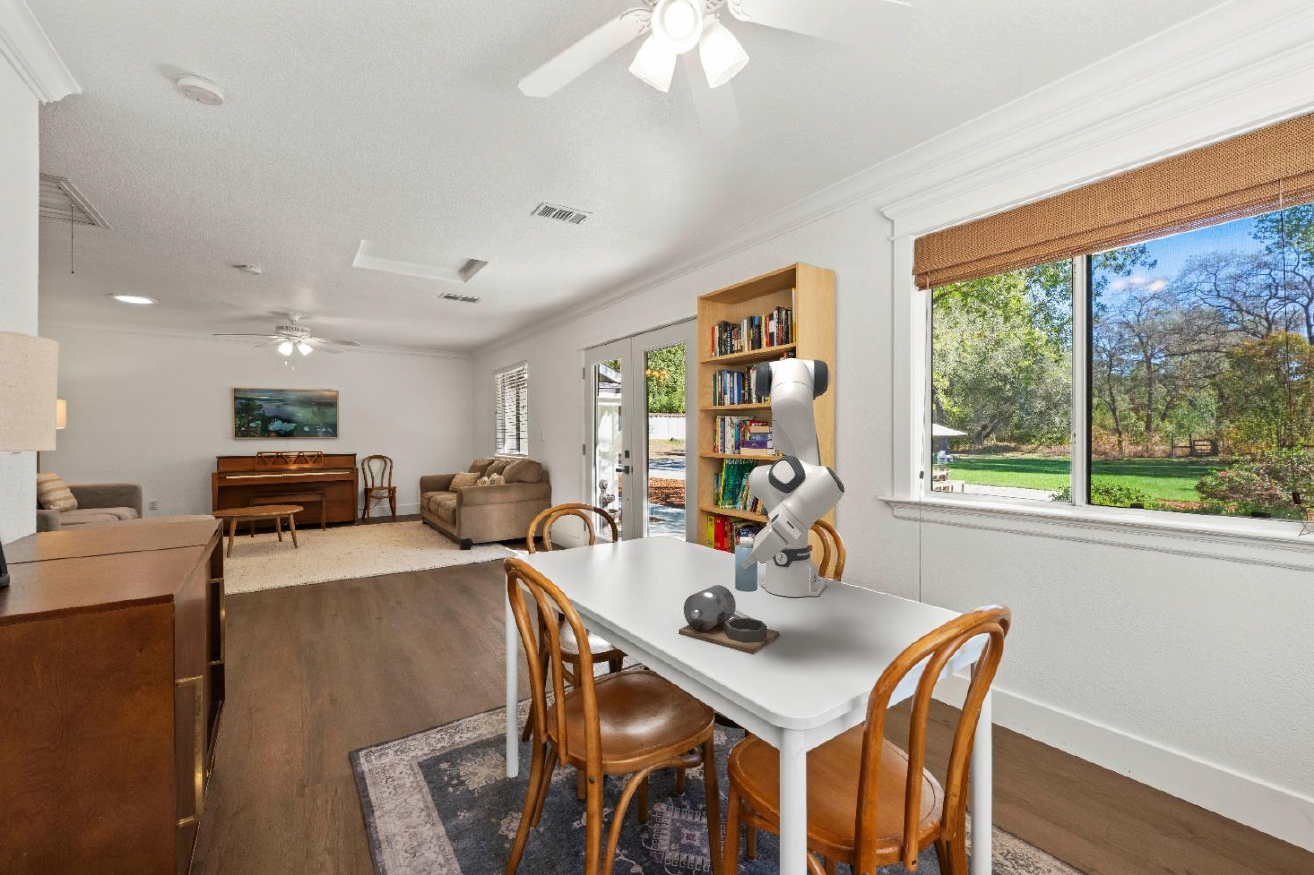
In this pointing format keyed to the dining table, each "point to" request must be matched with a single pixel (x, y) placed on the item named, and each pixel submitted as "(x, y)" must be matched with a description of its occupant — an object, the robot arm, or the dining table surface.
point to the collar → (752, 635)
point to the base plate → (721, 638)
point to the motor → (709, 608)
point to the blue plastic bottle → (743, 577)
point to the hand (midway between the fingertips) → (743, 563)
